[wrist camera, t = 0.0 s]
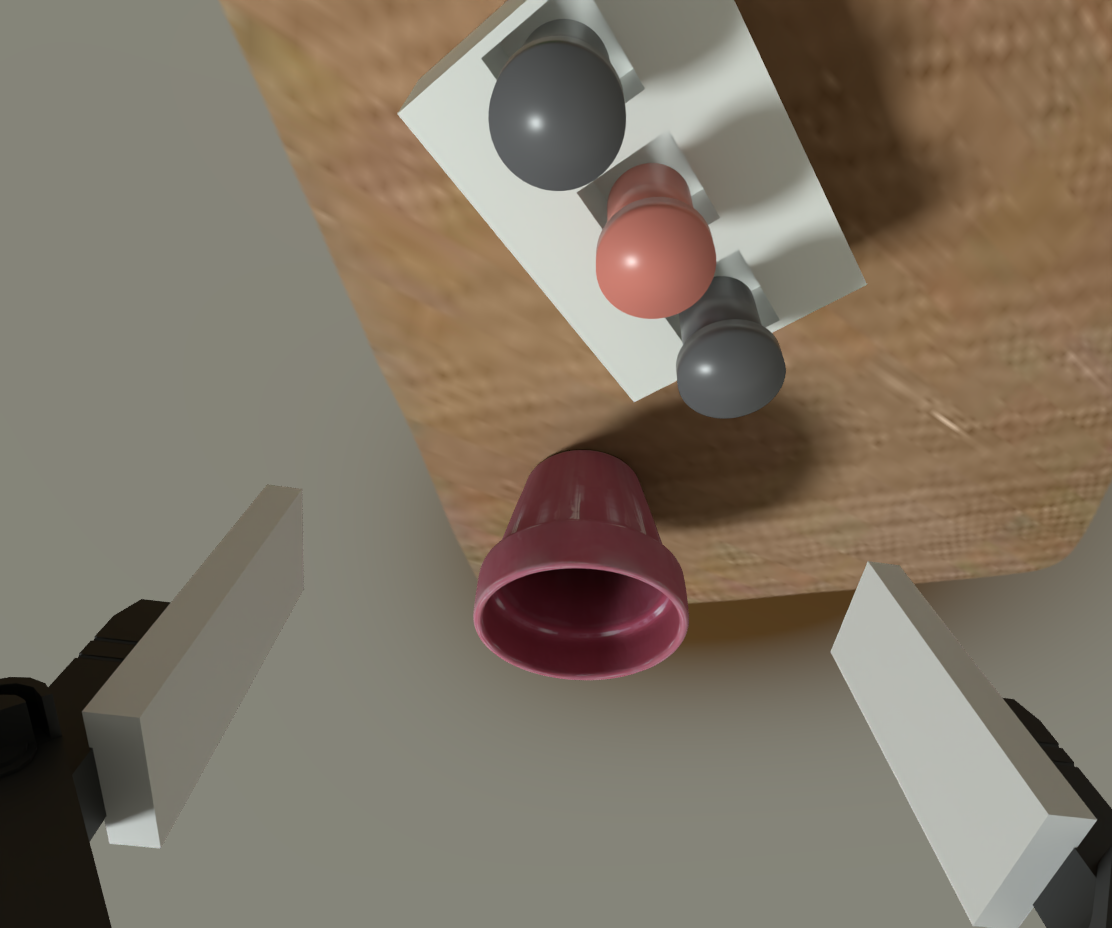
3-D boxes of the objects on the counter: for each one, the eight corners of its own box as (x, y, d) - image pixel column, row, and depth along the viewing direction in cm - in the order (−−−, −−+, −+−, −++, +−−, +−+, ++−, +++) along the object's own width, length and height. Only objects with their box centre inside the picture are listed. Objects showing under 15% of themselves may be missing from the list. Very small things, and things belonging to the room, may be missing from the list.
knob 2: (738, 249, 34) (757, 315, 30) (780, 320, 37) (802, 389, 33) (652, 299, 37) (658, 367, 32) (696, 362, 39) (707, 432, 35)
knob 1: (578, -26, 27) (573, 10, 23) (645, 88, 30) (651, 140, 25) (481, 58, 29) (460, 105, 25) (551, 157, 32) (543, 215, 28)
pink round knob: (668, 129, 31) (679, 184, 26) (720, 217, 33) (737, 281, 29) (576, 192, 33) (572, 253, 29) (632, 271, 36) (635, 337, 31)
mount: (665, -140, 28) (673, -129, 25) (842, 238, 39) (866, 284, 36) (418, 79, 34) (397, 113, 31) (631, 353, 45) (634, 402, 42)
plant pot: (695, 434, 50) (715, 579, 41) (654, 553, 60) (663, 691, 51) (498, 411, 49) (474, 553, 40) (490, 535, 59) (469, 672, 50)
